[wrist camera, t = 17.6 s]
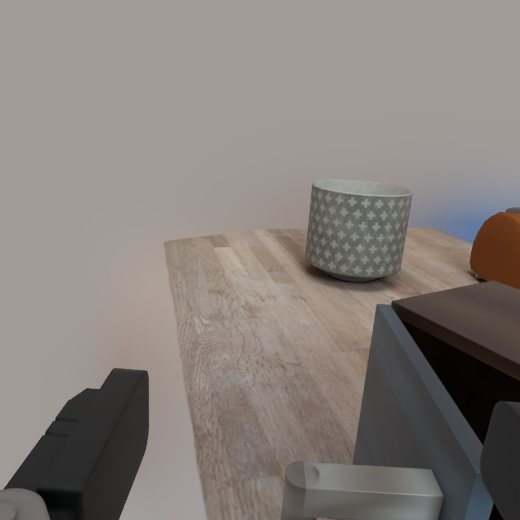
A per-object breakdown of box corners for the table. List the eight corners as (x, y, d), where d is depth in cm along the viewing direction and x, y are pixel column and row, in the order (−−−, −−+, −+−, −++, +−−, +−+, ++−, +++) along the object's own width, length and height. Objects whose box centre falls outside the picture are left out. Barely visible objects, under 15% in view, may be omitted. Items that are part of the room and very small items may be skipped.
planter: (293, 260, 100) (300, 178, 95) (373, 260, 104) (384, 181, 99) (321, 293, 82) (332, 194, 77) (416, 291, 86) (433, 196, 81)
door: (264, 755, 22) (294, 461, 17) (264, 496, 38) (281, 297, 32) (422, 764, 22) (502, 473, 17) (358, 501, 38) (390, 304, 32)
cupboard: (557, 709, 25) (665, 436, 20) (359, 499, 38) (391, 300, 33) (652, 605, 31) (756, 373, 25) (453, 454, 44) (493, 279, 39)
